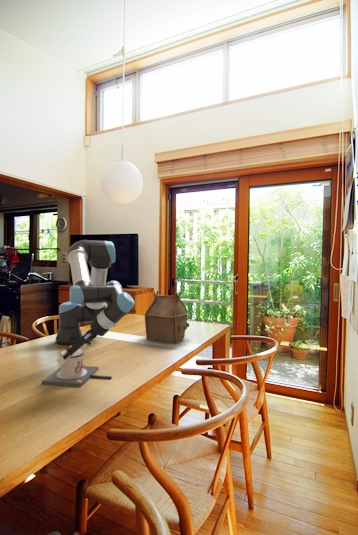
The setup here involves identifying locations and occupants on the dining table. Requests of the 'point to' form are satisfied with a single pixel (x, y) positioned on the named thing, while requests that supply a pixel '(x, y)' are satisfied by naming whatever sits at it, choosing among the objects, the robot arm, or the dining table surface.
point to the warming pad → (77, 381)
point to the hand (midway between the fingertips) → (67, 357)
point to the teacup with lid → (73, 365)
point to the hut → (166, 319)
